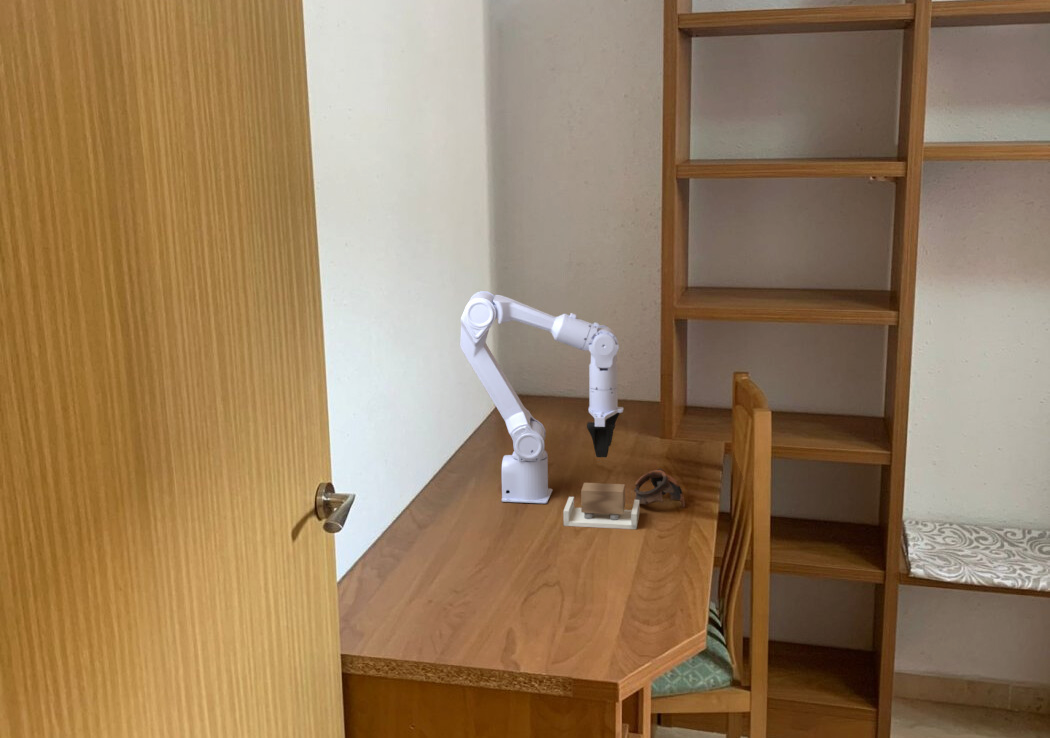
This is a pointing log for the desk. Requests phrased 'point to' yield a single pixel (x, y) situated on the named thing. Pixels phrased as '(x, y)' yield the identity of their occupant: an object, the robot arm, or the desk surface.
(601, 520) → the peg stand
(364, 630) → the desk surface
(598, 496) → the tan rectangular block
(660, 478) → the pottery mug
